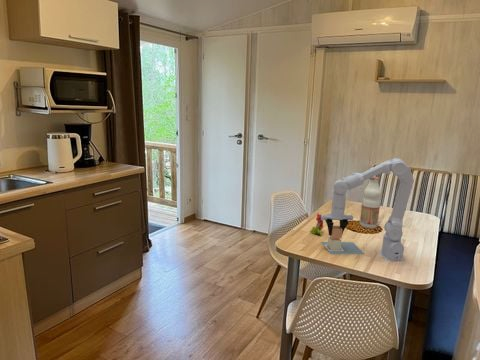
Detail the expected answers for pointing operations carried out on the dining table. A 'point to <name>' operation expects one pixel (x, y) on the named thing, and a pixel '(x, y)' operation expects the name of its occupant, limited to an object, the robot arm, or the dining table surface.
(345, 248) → the board
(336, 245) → the base block
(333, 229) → the top block
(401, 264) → the dining table surface
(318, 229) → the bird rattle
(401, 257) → the robot arm
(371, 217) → the fruit juice
